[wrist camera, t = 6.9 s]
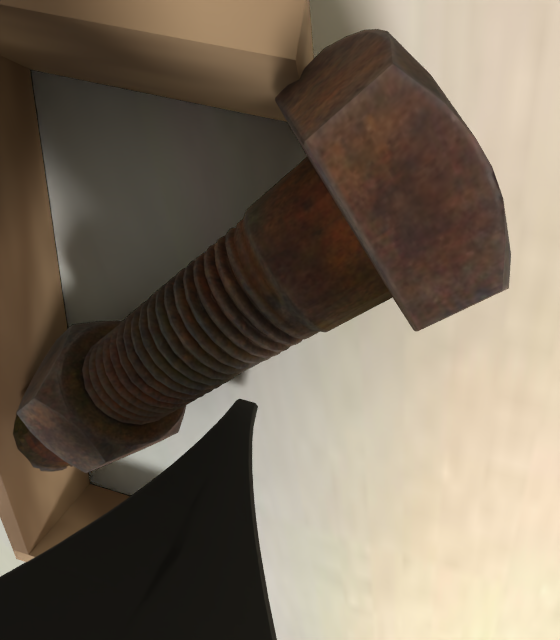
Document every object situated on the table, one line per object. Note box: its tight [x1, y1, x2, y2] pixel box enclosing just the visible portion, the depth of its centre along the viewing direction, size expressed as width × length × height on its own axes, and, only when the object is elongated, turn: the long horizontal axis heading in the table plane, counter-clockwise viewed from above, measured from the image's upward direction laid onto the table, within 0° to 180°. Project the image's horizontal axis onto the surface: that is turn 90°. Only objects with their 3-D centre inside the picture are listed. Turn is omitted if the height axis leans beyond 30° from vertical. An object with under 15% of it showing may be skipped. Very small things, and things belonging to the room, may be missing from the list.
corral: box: [0, 0, 314, 562], centre depth 10 cm, size 9×21×4 cm, turn 168°
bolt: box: [13, 29, 511, 473], centre depth 8 cm, size 6×5×15 cm
